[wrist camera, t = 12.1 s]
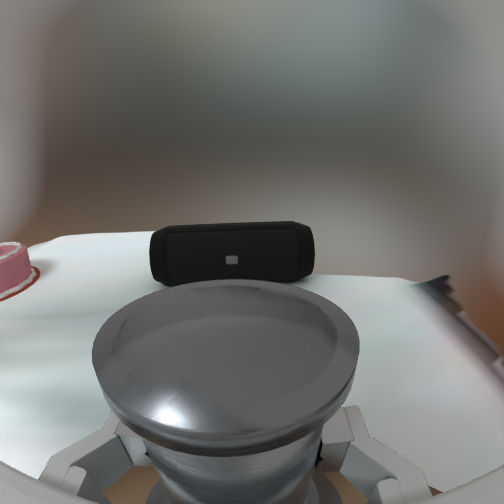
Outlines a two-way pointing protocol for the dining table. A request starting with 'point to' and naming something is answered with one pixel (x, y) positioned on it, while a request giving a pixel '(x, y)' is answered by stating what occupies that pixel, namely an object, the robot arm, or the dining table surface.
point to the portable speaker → (232, 252)
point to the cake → (15, 270)
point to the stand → (152, 489)
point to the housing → (229, 386)
